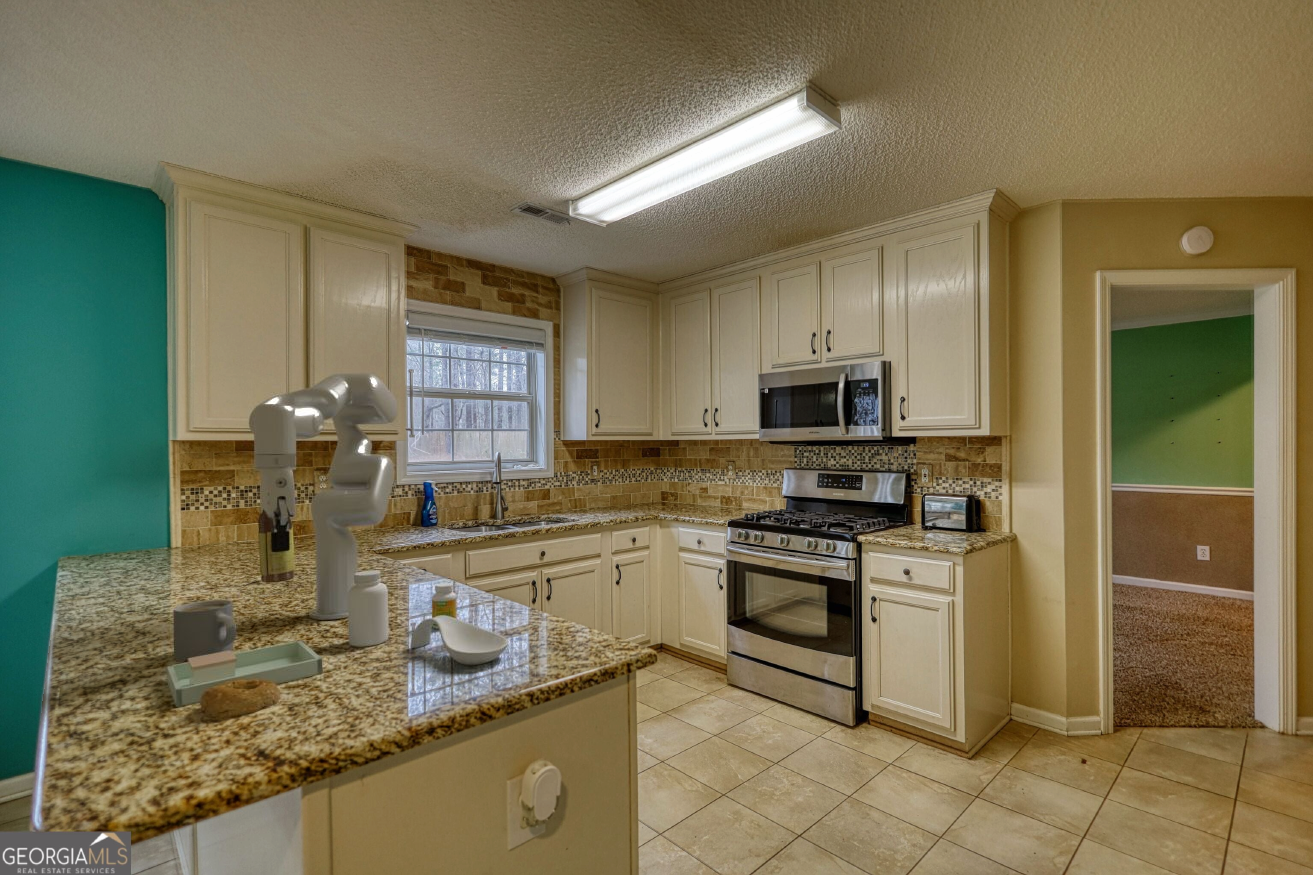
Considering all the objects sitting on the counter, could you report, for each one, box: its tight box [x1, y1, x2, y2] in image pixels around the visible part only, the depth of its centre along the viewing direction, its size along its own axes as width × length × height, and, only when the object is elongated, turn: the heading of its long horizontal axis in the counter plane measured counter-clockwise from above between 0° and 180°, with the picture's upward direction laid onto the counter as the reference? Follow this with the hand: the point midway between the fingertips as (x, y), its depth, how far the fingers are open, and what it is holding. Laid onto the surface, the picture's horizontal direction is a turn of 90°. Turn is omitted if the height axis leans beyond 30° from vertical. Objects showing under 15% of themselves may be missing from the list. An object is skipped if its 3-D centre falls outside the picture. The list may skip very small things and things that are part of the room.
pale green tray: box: [166, 639, 323, 708], centre depth 116 cm, size 22×16×3 cm
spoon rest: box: [410, 615, 509, 666], centre depth 129 cm, size 24×12×7 cm, turn 58°
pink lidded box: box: [187, 650, 237, 686], centre depth 113 cm, size 6×6×5 cm
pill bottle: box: [347, 569, 389, 648], centre depth 138 cm, size 8×8×15 cm
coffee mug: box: [173, 599, 237, 662], centre depth 131 cm, size 13×10×10 cm
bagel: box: [199, 679, 281, 719], centre depth 104 cm, size 10×11×5 cm
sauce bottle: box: [257, 505, 296, 584], centre depth 133 cm, size 6×6×20 cm
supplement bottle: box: [431, 582, 457, 630], centre depth 150 cm, size 5×5×10 cm
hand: (276, 548), depth 133 cm, fingers closed on sauce bottle, 6 cm apart
